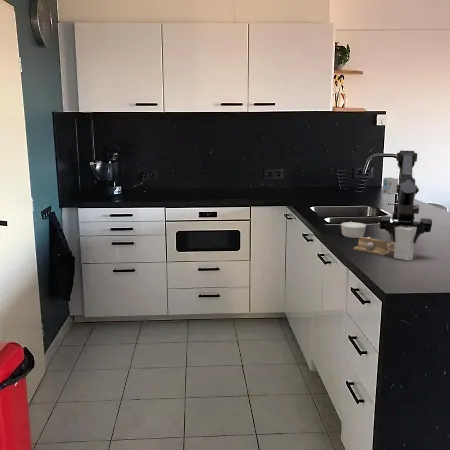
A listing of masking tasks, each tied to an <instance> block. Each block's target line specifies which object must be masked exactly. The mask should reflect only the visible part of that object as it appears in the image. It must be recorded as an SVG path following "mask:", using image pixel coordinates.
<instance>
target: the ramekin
mask: <svg viewBox="0 0 450 450" xmlns="http://www.w3.org/2000/svg"><path fill="white" fill-rule="evenodd" d="M340 228H341V235H342V236H343V237H345V238H351V239H359V237H364V236H365V232H366V228H367V225H366V223H361V222H354V221H352V222H351V221H348V222H347V221H346V222H342V223H340Z"/></svg>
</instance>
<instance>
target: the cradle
mask: <svg viewBox="0 0 450 450" xmlns="http://www.w3.org/2000/svg"><path fill="white" fill-rule="evenodd" d="M394 247H395V242H393V241H392V242H389V243H388V240H382V239H377V238H372V237H370V236H367V237H365V236H363V237H359V238H358V245H357V246H354V247H353V250H354V251H360V252H365V253H370V254H374V255H376V254H377V255H381V256H385V255H387V254H388V255H389V254H390V253H392V252H394Z"/></svg>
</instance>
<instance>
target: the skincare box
mask: <svg viewBox="0 0 450 450" xmlns="http://www.w3.org/2000/svg"><path fill="white" fill-rule="evenodd" d="M415 228H416V227H403V226H399V227H396V228H395V227H394V229H395V247H394V251H393V252H394V253H393V258H394V259H397V260H398V259H399V260H402V261H409V262H410V261H411V260H413V259H414V248H415V246H414V245H415V244H414V239H415V234H416V229H415Z"/></svg>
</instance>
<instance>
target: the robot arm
mask: <svg viewBox="0 0 450 450" xmlns="http://www.w3.org/2000/svg"><path fill="white" fill-rule="evenodd" d="M395 161H397V167H398V168H399V170H400V178H398V179H399V185H397V189H396V193H398V194H397V196H398V199H397V200H398V202H397V205H396V206H395V207H394V212H392V215H390V216H389V215H388V216H387V215H381V216H380V218H379V227H378V228H379V229H380V230H385V232H388V234H389V235H390V237H391V238H390V240H392V242H395V228H396V227H399V226H403V227H410V228H416V229H415V233H414V245H416V244H417V242H418V241H417V240H418V239H419V237H420V236H421V234H424V233H430V232H431V230H432V226H433V220H432V219H431V218H425V217H424V218H423V217H421V218H420V221H415V214H416V215H418V214H419V213H420V204H415V203H414V202H415V197H416V195H417V194H418V193H419V192H420V188H419V187H418V185H417V184H416V179H415V178H414V177H413V168H414V166H415V164H416V162H418V153H417V152H415V150H399V152H396V160H395ZM391 216H392V217H391Z"/></svg>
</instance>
